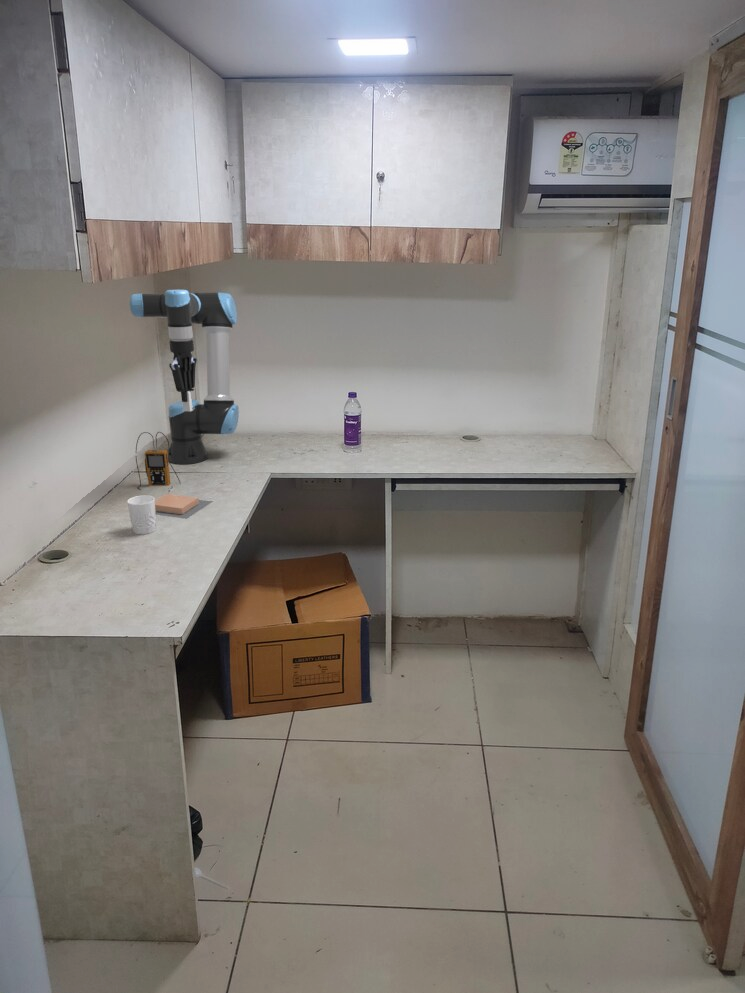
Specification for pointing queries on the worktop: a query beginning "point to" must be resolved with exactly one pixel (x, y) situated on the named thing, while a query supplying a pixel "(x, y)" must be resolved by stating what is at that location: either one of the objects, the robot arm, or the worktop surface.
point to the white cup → (142, 514)
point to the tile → (175, 504)
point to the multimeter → (156, 466)
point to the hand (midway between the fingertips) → (187, 410)
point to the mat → (188, 513)
